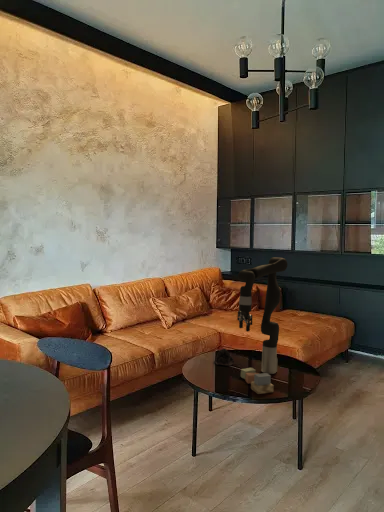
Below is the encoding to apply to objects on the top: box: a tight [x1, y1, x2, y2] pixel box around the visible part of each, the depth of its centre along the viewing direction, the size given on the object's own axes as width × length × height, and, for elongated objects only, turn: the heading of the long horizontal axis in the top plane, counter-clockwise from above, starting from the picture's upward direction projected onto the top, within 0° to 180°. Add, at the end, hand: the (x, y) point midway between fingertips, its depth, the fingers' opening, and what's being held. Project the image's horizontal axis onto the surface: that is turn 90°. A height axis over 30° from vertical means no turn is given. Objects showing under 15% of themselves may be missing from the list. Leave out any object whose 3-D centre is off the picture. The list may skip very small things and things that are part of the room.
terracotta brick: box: [245, 372, 260, 384], centre depth 236 cm, size 8×4×5 cm, turn 99°
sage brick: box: [240, 367, 257, 380], centre depth 244 cm, size 8×4×5 cm, turn 119°
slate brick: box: [254, 372, 272, 386], centre depth 224 cm, size 8×4×5 cm, turn 111°
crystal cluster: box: [214, 348, 235, 366], centre depth 270 cm, size 13×14×10 cm
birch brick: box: [250, 382, 275, 395], centre depth 224 cm, size 10×8×4 cm
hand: (244, 329), depth 238 cm, fingers open, 8 cm apart
